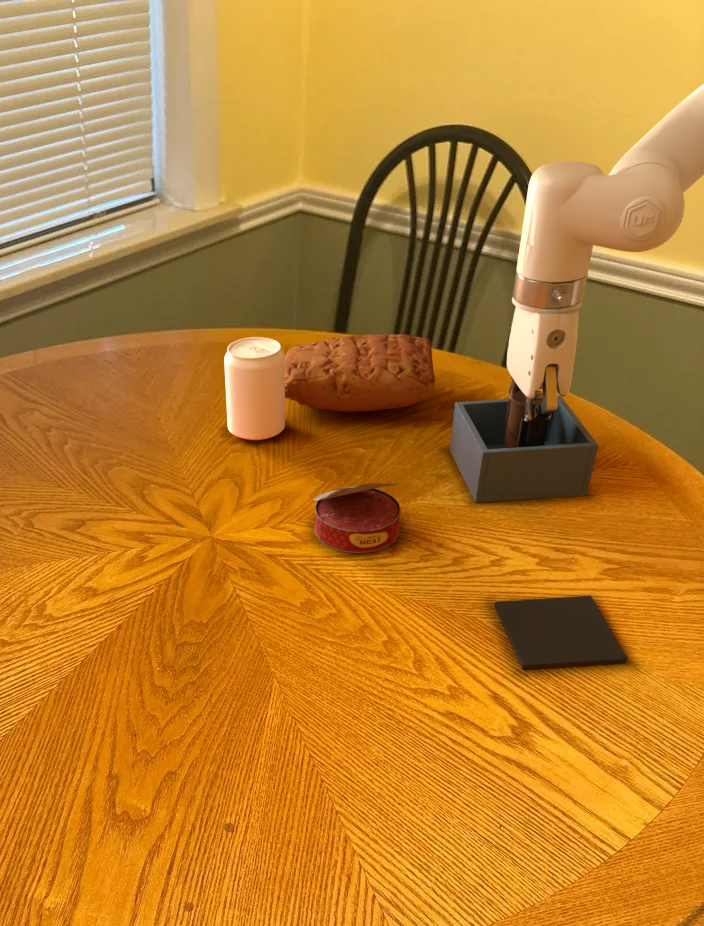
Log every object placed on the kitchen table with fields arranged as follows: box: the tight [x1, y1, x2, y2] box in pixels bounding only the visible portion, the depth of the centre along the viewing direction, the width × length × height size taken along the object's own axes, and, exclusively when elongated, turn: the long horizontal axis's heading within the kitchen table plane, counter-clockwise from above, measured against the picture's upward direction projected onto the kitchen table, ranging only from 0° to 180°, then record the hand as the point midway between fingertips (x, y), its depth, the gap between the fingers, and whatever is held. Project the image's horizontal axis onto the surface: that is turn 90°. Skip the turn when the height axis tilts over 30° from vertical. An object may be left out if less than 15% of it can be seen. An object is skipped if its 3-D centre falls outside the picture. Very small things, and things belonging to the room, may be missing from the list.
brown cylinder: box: [504, 390, 543, 448], centre depth 110 cm, size 4×4×9 cm
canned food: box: [312, 482, 402, 554], centre depth 103 cm, size 11×10×10 cm
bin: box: [449, 395, 599, 504], centre depth 111 cm, size 14×14×7 cm
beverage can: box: [223, 336, 286, 441], centre depth 122 cm, size 8×8×12 cm
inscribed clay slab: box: [285, 333, 436, 412], centre depth 129 cm, size 22×17×8 cm
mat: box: [493, 595, 628, 670], centre depth 89 cm, size 10×10×1 cm
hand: (523, 437), depth 110 cm, fingers closed on brown cylinder, 4 cm apart
